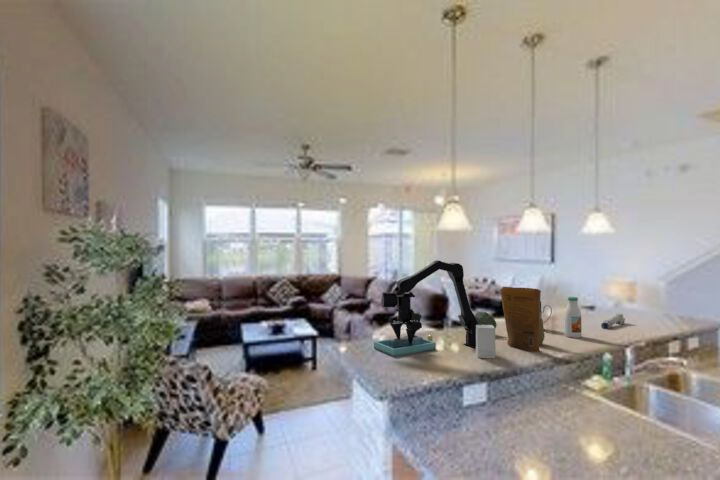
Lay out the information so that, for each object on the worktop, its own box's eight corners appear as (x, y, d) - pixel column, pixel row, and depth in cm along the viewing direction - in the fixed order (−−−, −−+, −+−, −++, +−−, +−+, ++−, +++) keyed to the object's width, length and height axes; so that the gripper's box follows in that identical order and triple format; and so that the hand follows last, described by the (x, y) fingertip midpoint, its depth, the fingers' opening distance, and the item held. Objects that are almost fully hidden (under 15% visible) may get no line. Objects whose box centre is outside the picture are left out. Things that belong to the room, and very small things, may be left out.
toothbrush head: (599, 321, 232) (616, 310, 247) (600, 333, 232) (616, 321, 248) (609, 323, 228) (626, 311, 243) (610, 334, 228) (626, 322, 244)
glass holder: (529, 326, 238) (529, 299, 238) (555, 330, 228) (555, 302, 228) (522, 328, 232) (522, 301, 232) (548, 332, 222) (548, 304, 222)
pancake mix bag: (536, 354, 181) (536, 289, 181) (499, 345, 197) (499, 285, 196) (545, 351, 185) (545, 288, 185) (508, 343, 200) (507, 284, 200)
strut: (394, 350, 185) (394, 341, 185) (387, 347, 190) (387, 339, 190) (422, 346, 193) (422, 337, 193) (414, 343, 198) (414, 334, 198)
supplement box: (495, 358, 175) (495, 328, 175) (477, 357, 176) (477, 327, 176) (493, 353, 182) (493, 324, 182) (475, 353, 184) (475, 324, 184)
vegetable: (502, 328, 223) (498, 320, 211) (485, 344, 223) (479, 337, 212) (486, 312, 231) (481, 304, 219) (469, 328, 231) (463, 320, 219)
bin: (435, 349, 190) (435, 342, 190) (393, 356, 179) (393, 349, 179) (414, 341, 204) (414, 335, 204) (373, 348, 192) (373, 341, 192)
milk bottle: (565, 337, 211) (564, 297, 211) (563, 334, 218) (563, 295, 218) (582, 338, 208) (582, 298, 208) (580, 335, 215) (580, 296, 215)
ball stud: (433, 342, 201) (433, 335, 201) (429, 343, 200) (429, 336, 200) (430, 341, 204) (430, 334, 204) (426, 342, 202) (426, 335, 202)
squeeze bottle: (544, 342, 200) (544, 305, 200) (544, 346, 193) (544, 307, 193) (526, 341, 204) (526, 304, 204) (525, 345, 196) (525, 306, 196)
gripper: (431, 308, 187) (431, 343, 187) (406, 302, 203) (406, 334, 203) (411, 310, 182) (411, 346, 182) (387, 304, 198) (387, 337, 198)
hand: (404, 341), depth 191 cm, fingers open, 9 cm apart
